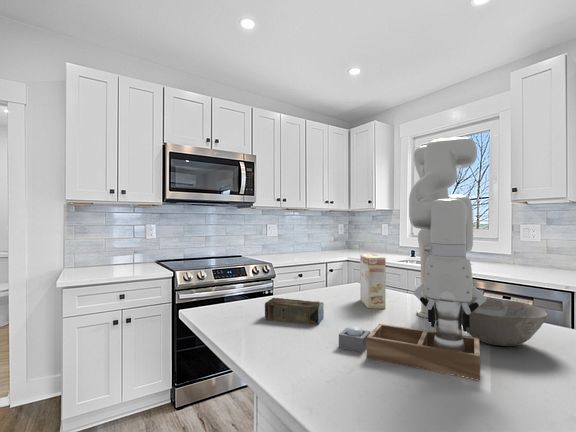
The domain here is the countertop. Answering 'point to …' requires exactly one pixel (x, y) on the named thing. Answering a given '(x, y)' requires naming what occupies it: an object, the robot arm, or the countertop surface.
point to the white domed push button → (354, 331)
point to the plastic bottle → (448, 323)
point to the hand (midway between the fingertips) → (448, 327)
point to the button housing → (353, 341)
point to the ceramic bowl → (504, 321)
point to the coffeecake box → (372, 281)
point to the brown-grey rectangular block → (294, 311)
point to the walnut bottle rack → (422, 351)
